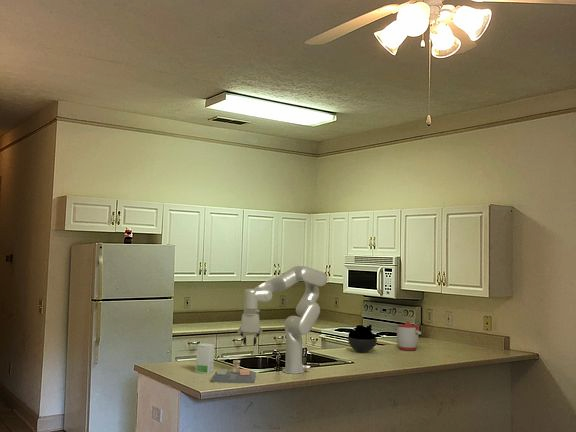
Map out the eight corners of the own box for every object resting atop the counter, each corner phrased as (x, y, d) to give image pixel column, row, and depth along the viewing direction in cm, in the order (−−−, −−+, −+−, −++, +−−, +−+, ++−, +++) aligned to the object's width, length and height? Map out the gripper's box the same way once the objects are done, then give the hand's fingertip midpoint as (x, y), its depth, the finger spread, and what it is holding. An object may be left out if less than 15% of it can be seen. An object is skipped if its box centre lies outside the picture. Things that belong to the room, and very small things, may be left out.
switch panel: (255, 375, 337) (255, 369, 337) (253, 383, 318) (254, 376, 318) (215, 374, 337) (216, 368, 337) (211, 382, 318) (211, 375, 318)
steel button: (227, 372, 325) (227, 368, 325) (226, 374, 320) (226, 370, 320) (218, 372, 325) (218, 368, 325) (217, 374, 320) (217, 370, 320)
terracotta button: (250, 373, 325) (250, 369, 325) (249, 375, 320) (249, 371, 320) (240, 373, 325) (240, 369, 325) (239, 375, 320) (240, 371, 320)
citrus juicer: (416, 352, 424) (416, 323, 425) (392, 349, 433) (393, 321, 434) (424, 349, 437) (424, 321, 438) (401, 347, 446) (401, 319, 447)
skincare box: (195, 372, 342) (196, 344, 343) (201, 370, 348) (201, 342, 349) (208, 373, 339) (209, 345, 340) (214, 371, 345) (214, 343, 346)
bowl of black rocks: (349, 354, 410) (349, 326, 411) (346, 349, 430) (346, 322, 431) (378, 355, 410) (379, 326, 411) (374, 350, 430) (374, 323, 431)
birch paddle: (239, 371, 335) (240, 360, 336) (239, 372, 332) (239, 361, 333) (233, 371, 335) (233, 360, 336) (232, 372, 332) (233, 361, 333)
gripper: (266, 311, 339) (265, 344, 338) (235, 310, 339) (234, 343, 338) (265, 312, 332) (264, 346, 331) (234, 312, 332) (233, 346, 331)
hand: (249, 344), depth 335 cm, fingers open, 4 cm apart
